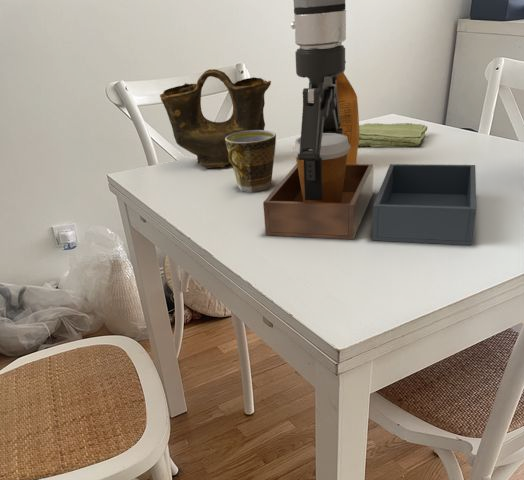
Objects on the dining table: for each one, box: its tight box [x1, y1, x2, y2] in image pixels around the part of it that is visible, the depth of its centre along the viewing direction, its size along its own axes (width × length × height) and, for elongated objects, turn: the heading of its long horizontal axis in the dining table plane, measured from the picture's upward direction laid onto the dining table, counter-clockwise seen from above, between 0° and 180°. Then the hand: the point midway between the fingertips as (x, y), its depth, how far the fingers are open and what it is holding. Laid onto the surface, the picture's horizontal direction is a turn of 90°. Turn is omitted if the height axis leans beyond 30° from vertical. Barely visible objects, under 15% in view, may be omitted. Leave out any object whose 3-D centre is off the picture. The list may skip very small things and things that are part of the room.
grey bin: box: [371, 163, 477, 246], centre depth 89 cm, size 15×22×6 cm
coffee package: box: [337, 60, 360, 164], centre depth 113 cm, size 10×12×22 cm
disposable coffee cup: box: [292, 133, 351, 203], centre depth 92 cm, size 10×10×12 cm
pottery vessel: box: [159, 68, 272, 169], centre depth 122 cm, size 25×11×20 cm, turn 89°
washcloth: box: [358, 122, 428, 148], centre depth 132 cm, size 13×18×3 cm
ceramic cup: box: [225, 129, 277, 193], centre depth 107 cm, size 13×10×10 cm
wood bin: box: [262, 163, 375, 240], centre depth 94 cm, size 15×22×6 cm
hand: (322, 186), depth 93 cm, fingers open, 13 cm apart
